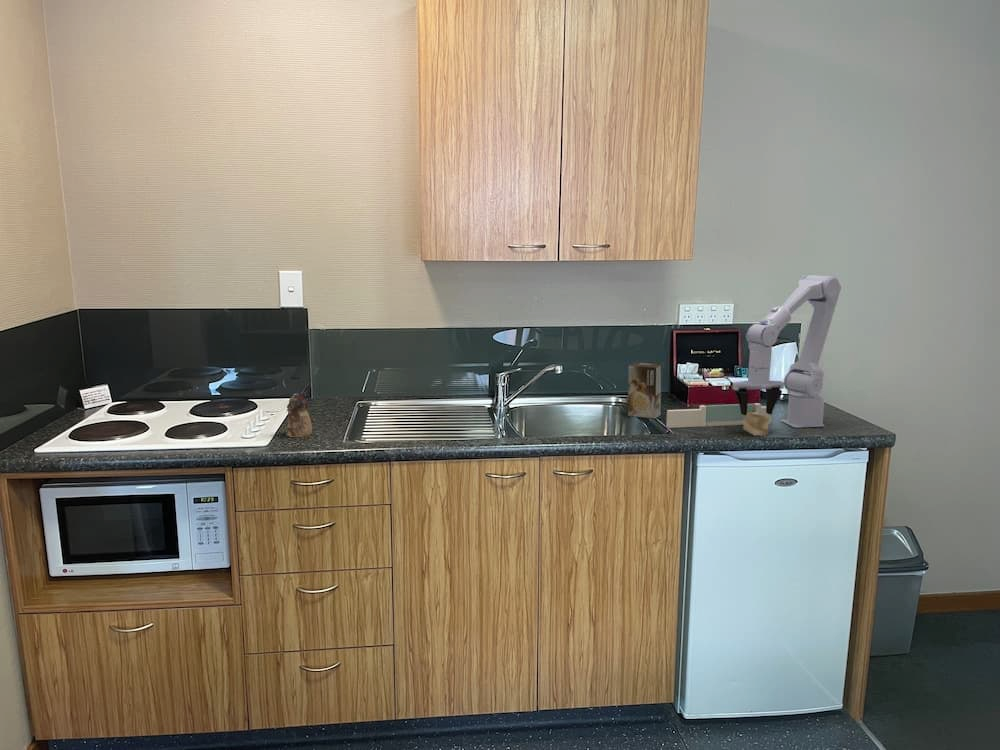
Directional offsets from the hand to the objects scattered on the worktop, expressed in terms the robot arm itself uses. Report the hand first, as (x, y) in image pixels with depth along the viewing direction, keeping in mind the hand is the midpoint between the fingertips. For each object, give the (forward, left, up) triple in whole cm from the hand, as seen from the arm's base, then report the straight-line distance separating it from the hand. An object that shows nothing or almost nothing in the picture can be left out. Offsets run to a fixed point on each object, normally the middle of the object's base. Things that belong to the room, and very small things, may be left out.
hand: (756, 413), depth 222 cm
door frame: (+7, -9, -5) cm, 13 cm away
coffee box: (+25, -24, -6) cm, 35 cm away
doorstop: (0, 0, -6) cm, 6 cm away
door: (+3, -9, -4) cm, 10 cm away
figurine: (+129, -18, -6) cm, 130 cm away
